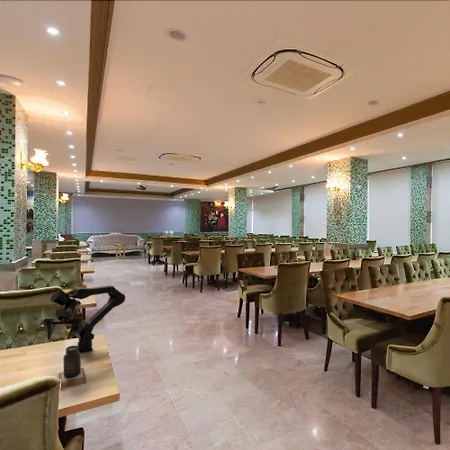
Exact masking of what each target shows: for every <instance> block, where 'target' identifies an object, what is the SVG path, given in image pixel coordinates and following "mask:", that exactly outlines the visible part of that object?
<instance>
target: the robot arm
mask: <svg viewBox="0 0 450 450" xmlns="http://www.w3.org/2000/svg"><path fill="white" fill-rule="evenodd" d="M104 294H108V296H109V298H108V300H107V302H106V303H105V304H104V305H102V306H101V308H100V309H98V310H97V311H96V312H95V313H94V314H93V315H92V316H91V317H90V318H89V319H88V320H84V318H83V317H75V311H76V308H77V307H79V306H81V305H82V302H81V301H80V300H84V299H87V298H88V297H90V296H97V295H104ZM125 301H126V296H125V294H124V293H122V292H120V290H118V289H116V287H114V285H110V284H108V285H101V286H95V287H81V286H78V287H77V286H75V287H74V288H72V290H69V291H68V292H65V291H64V290H62V289H58V290H57V291H55V292H54V293H53V294H52V295H51V296H50V302H51V303H53V304H54V305H55V304H56V305H57V306H59V307H62V306H63V307H62V308H61V309H55V312H54V317H56V318H57V319H56V320H55V319H54V318H53V317H45V318H44V319H43V320H42V325H43V326H44V327H45V328H46V329H47V340H48V341H50V339H51V337H52V336H53V333H54V331H55V327H56V325H57V326H58V325H67V326H68V325H71V327H70V330H69V333H68V335H67V339H66V340H68V341H69V340H70V339H71V338H72V337H73V335H74V336H75V337H76V338H77V339H78V341H77V346H78V352H80V354H82V353H87V352H92V351H93V350H94V349H93V340H94V338H95V334H94V333H92V332H93V330H94V327H95V326H96V325H97V324H98V323H99V322H100V321H101V320H102V319H103V318H104V317H106V315H108V314H109V313H111V310H113V309H115V308H116V307H119V306H120V305H122V304H123V303H125Z"/></svg>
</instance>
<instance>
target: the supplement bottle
mask: <svg viewBox="0 0 450 450" xmlns="http://www.w3.org/2000/svg"><path fill="white" fill-rule="evenodd" d="M81 354H82V353H80V352H79V351H78V345H70V346H67V347H66V348H65V354H64V355H63V364H62V365H63V372H64V377H65V378H73V377H76V376H78V375H79V374H80V373H81V368H82V367H81V366H82V361H81V360H82V359H81V358H82V357H81V356H82V355H81Z"/></svg>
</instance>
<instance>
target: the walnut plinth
mask: <svg viewBox="0 0 450 450" xmlns="http://www.w3.org/2000/svg"><path fill="white" fill-rule="evenodd" d="M59 379H61V390H64V389H67V387H68V388H71V387H75V386H78V385H82V384H86V383H87V376H86V372H85V369H84V367H81V373H80V374H79V375H78V376H76V377H73V378H65V377H64V371H62V372H59V373H58V380H59ZM63 388H64V389H63Z"/></svg>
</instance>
